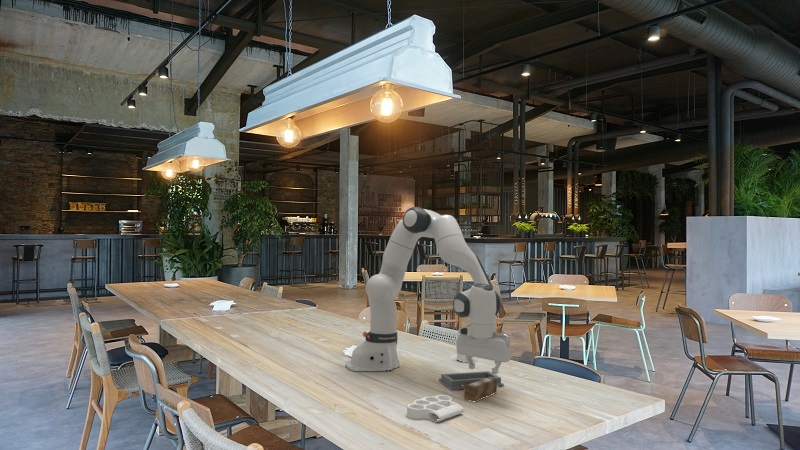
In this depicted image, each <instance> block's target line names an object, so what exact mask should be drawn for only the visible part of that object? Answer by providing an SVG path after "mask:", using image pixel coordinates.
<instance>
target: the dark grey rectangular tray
mask: <svg viewBox="0 0 800 450" xmlns="http://www.w3.org/2000/svg"><path fill="white" fill-rule="evenodd" d="M440 376H441V378H438V382H439V381H440V382H441V383H440V382H439V383H440V384H442V383H443V384H444V385H445V386H444V385H443V384H442V385H443V386H444V387H446V386H447V387H448V388H450V389H451V390H456V391H460V390H459V389H465V385H467V384H470V383H473V382H476V381H478V380H481V379H484V378H491V379H496V380H497V386H504V387H505V384H504V382H502V378H501V376H498V375H497V374H493V373H492V371H490V370H489V371H488V370H485V371H484V370H483V371H471V372H470V371H468V372H455V373H442V374H440ZM447 387H446V388H447ZM448 388H447V389H448ZM450 389H449V390H450ZM451 390H450V391H451Z"/></svg>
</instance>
